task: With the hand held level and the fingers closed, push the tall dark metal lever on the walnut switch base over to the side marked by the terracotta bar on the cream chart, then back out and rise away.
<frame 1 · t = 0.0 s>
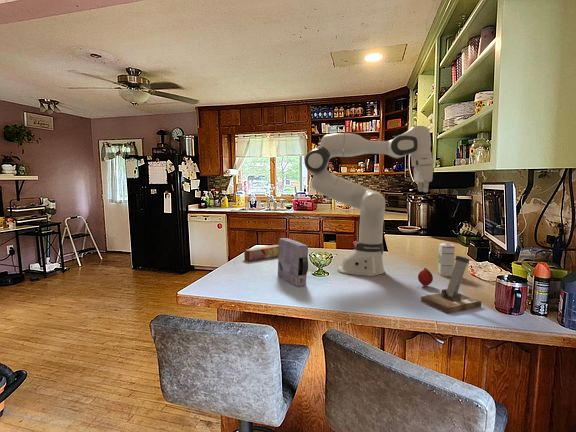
hand: (423, 191, 156), 39 cm above the countertop, tool pointing down, fingers open, 8 cm apart
white cylindrical container: (445, 274, 159), on the countertop
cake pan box: (292, 281, 148), on the countertop
switch base: (450, 304, 121), on the countertop
onion: (424, 286, 141), on the countertop
snack package: (263, 258, 189), on the countertop
lever: (456, 277, 121), point 10 cm above the countertop, hinge at -20.0°
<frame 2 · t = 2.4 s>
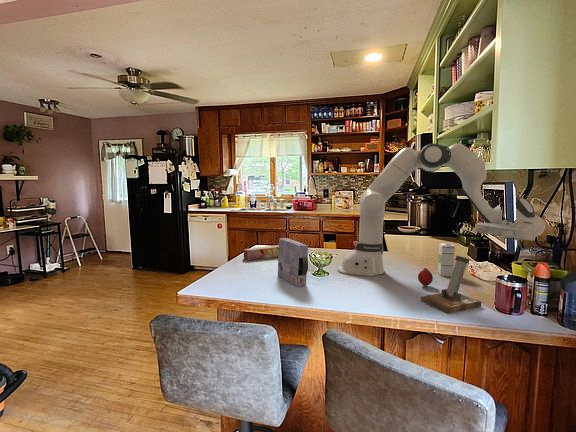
hand: (488, 232, 128), 25 cm above the countertop, tool horizontal, fingers open, 8 cm apart
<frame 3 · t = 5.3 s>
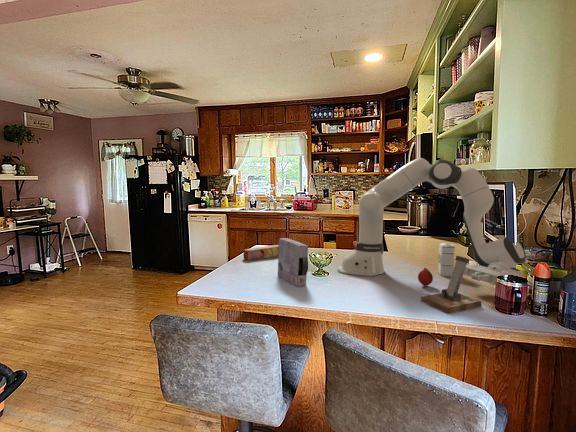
hand: (474, 277, 125), 8 cm above the countertop, tool horizontal, fingers closed
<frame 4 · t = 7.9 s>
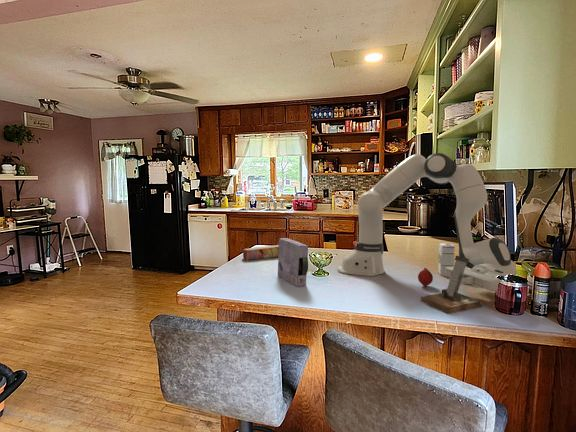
hand: (457, 280, 121), 9 cm above the countertop, tool horizontal, fingers closed, pressing on lever
lever: (456, 277, 121), point 10 cm above the countertop, hinge at -18.7°, touching gripper
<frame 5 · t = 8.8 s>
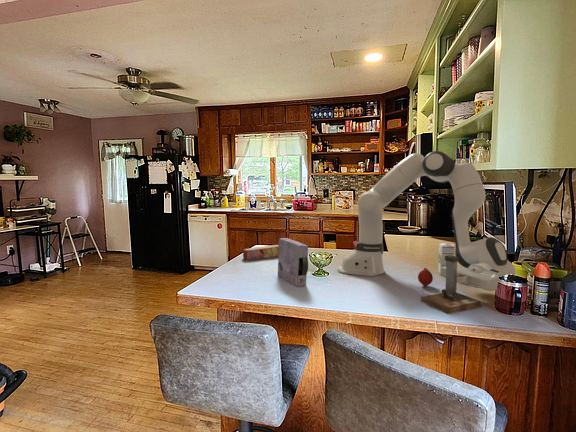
hand: (453, 279, 120), 9 cm above the countertop, tool horizontal, fingers closed, pressing on lever
lever: (451, 277, 120), point 10 cm above the countertop, hinge at 3.5°, touching gripper
everything else where it was.
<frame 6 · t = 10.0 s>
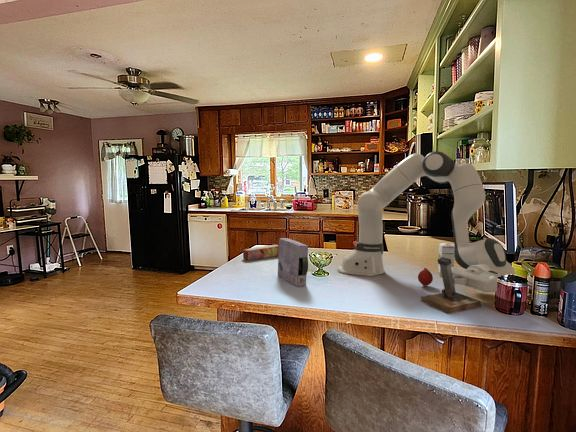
hand: (451, 280, 120), 9 cm above the countertop, tool horizontal, fingers closed
lever: (447, 278, 119), point 10 cm above the countertop, hinge at 18.1°
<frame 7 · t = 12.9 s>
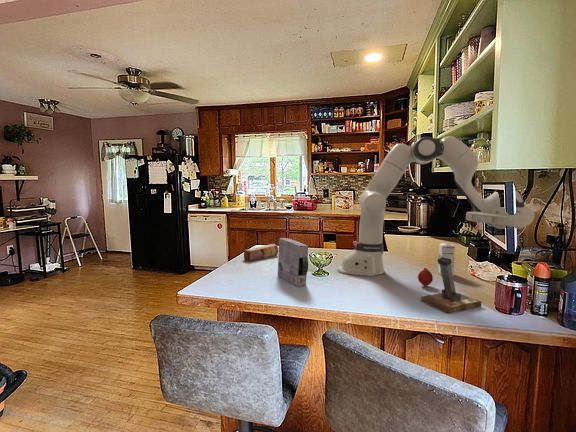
hand: (478, 219, 133), 29 cm above the countertop, tool horizontal, fingers closed
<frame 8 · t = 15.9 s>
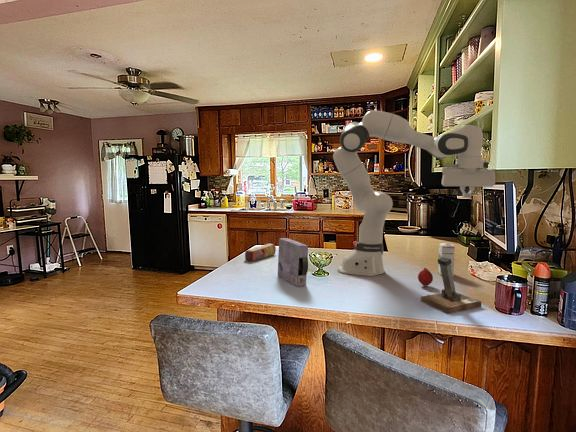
hand: (466, 197, 143), 37 cm above the countertop, tool pointing down, fingers closed
at the end: lever at +18° (first picture: -20°); onion moved 0.2 cm from its start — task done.
